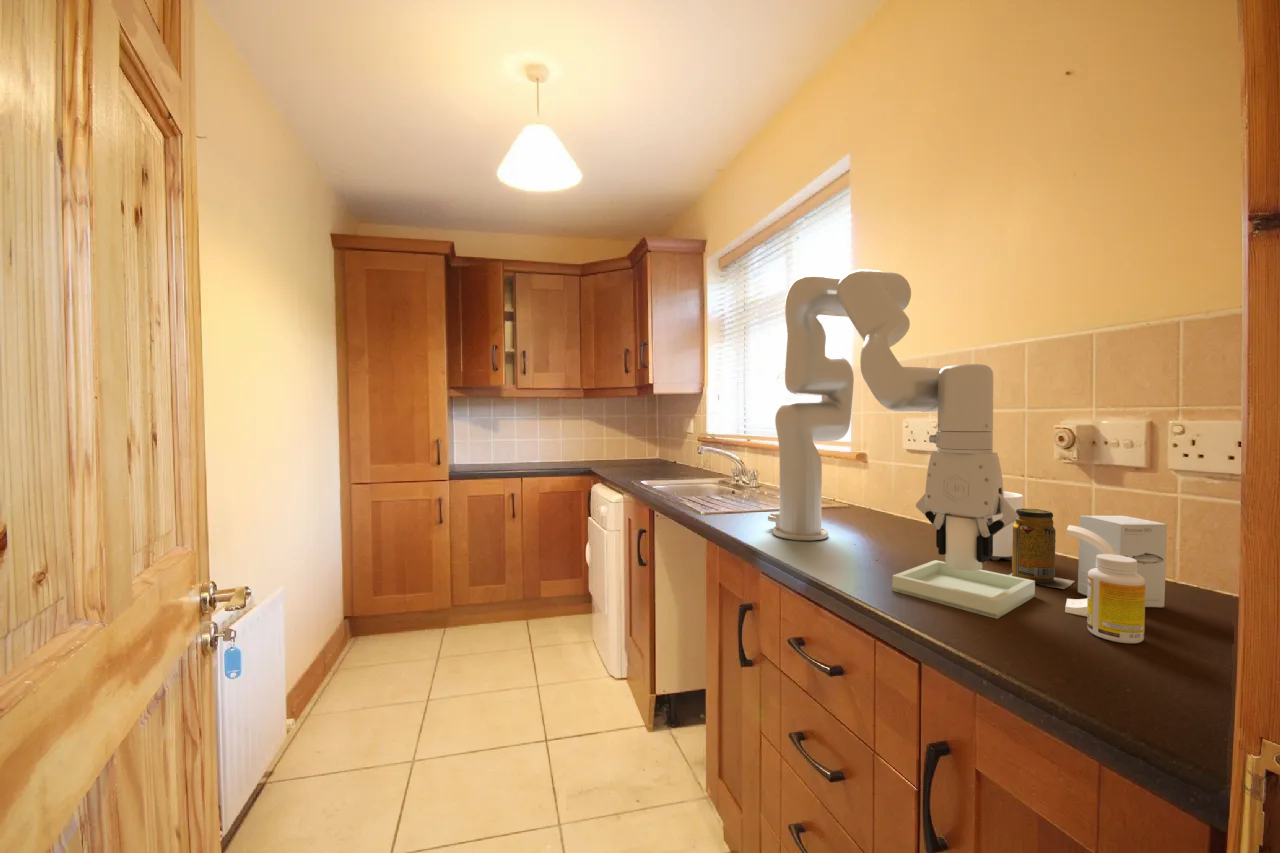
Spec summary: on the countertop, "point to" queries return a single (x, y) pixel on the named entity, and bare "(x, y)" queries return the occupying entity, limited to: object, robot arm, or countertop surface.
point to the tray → (965, 588)
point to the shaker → (962, 542)
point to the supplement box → (1128, 551)
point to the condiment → (1035, 548)
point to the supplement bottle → (1116, 599)
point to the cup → (1006, 530)
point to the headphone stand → (1081, 604)
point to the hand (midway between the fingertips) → (963, 555)
